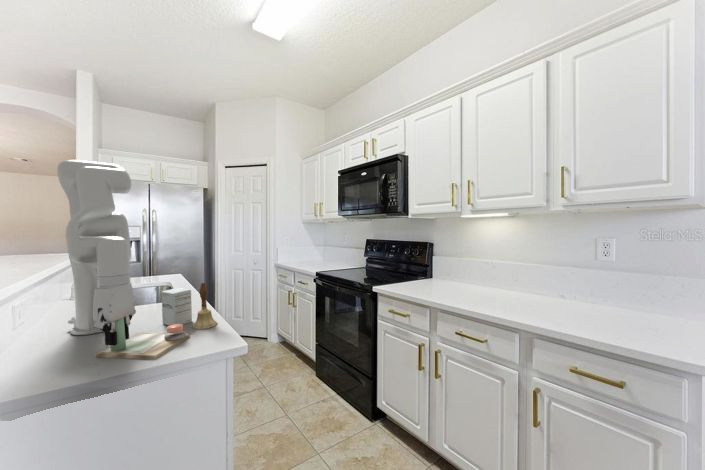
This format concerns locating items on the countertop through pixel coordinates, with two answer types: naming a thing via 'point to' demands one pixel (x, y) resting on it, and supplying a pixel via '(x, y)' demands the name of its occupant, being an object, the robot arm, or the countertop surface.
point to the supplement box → (176, 306)
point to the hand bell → (204, 312)
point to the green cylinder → (119, 335)
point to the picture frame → (146, 345)
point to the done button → (174, 328)
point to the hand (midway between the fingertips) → (117, 341)
